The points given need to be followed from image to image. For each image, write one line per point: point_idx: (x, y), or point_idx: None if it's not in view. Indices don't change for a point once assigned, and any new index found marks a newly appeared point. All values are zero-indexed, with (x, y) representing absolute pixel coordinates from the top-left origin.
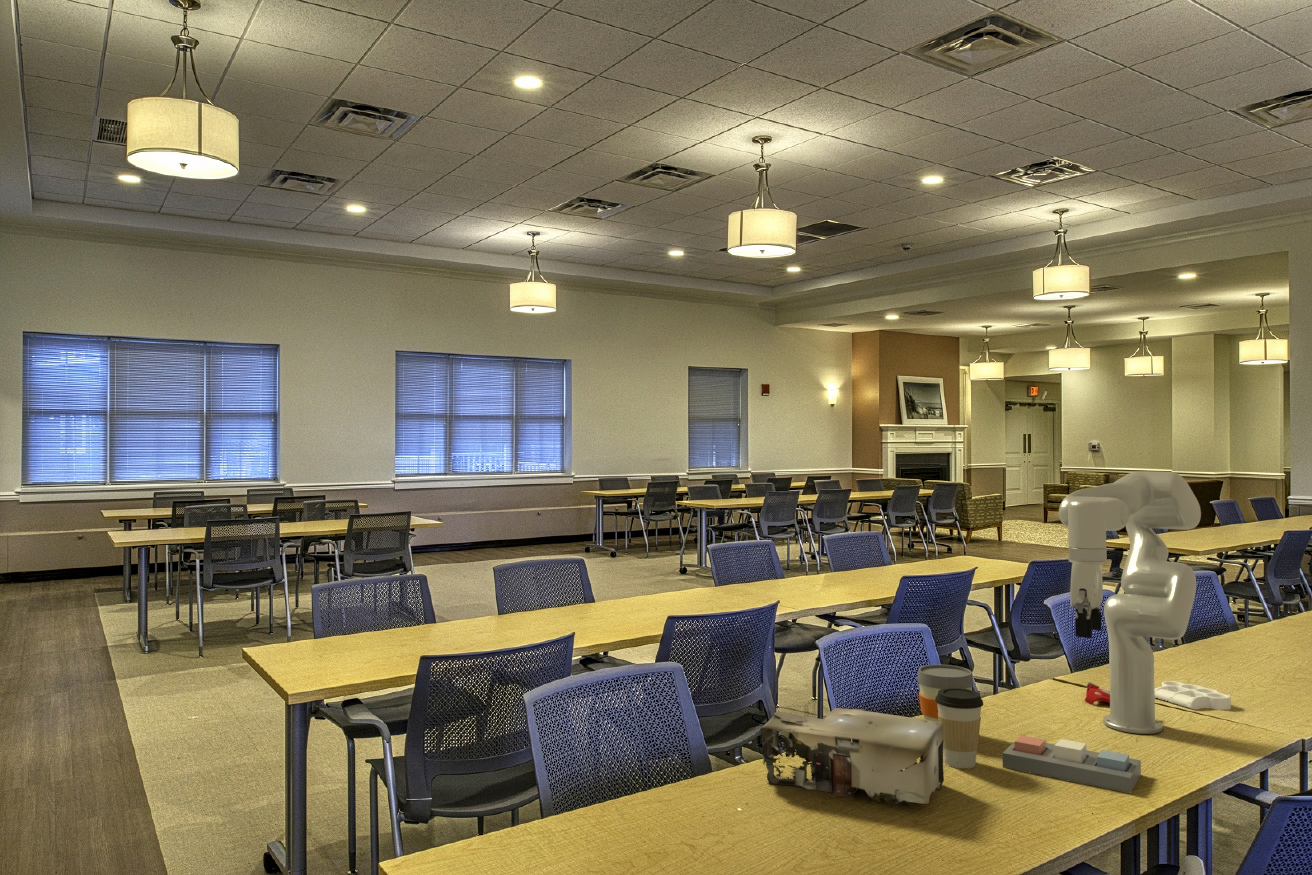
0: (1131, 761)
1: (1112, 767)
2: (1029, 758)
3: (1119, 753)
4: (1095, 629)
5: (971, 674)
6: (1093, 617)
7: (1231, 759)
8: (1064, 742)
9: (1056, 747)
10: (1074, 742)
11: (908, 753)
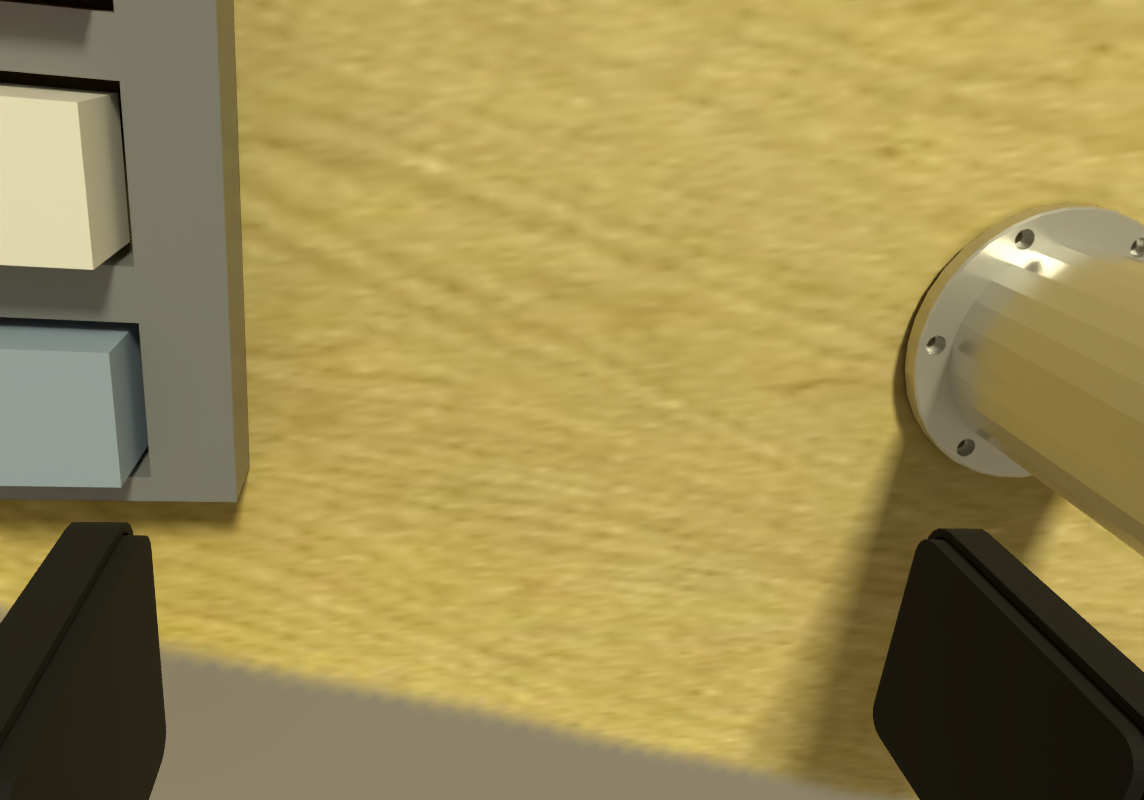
0: (180, 469)
1: None
2: None
3: (108, 442)
4: (886, 662)
5: None
6: (1018, 797)
7: (695, 720)
8: (13, 139)
9: None
10: (62, 200)
11: None
